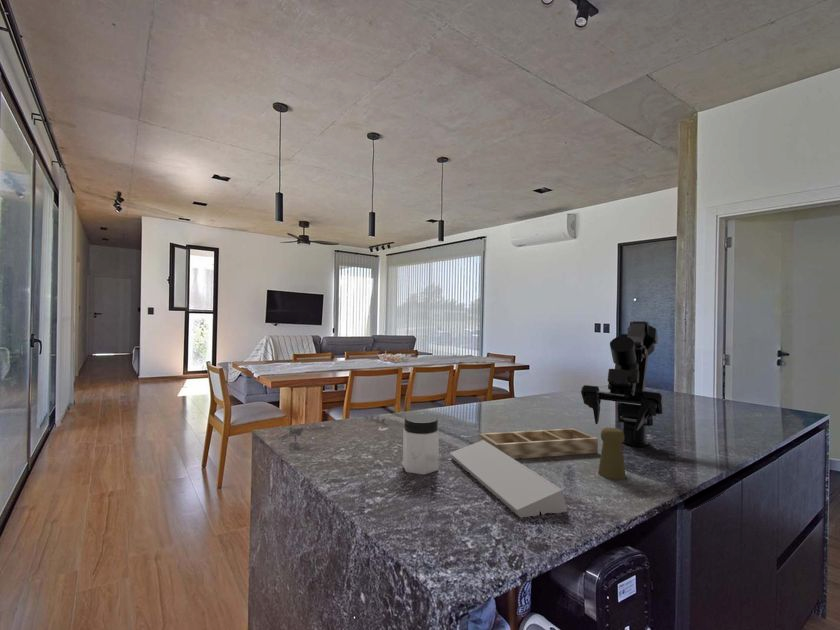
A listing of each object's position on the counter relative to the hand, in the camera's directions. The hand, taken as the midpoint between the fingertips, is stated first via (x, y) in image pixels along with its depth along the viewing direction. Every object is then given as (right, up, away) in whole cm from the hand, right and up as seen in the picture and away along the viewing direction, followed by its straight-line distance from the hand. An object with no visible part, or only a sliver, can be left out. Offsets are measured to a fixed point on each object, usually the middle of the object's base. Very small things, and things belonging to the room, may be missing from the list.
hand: (615, 426), depth 104 cm
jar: (-48, -10, -2) cm, 49 cm away
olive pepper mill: (-3, -11, -3) cm, 12 cm away
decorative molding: (-31, -11, -9) cm, 34 cm away
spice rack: (-15, -11, +15) cm, 24 cm away
